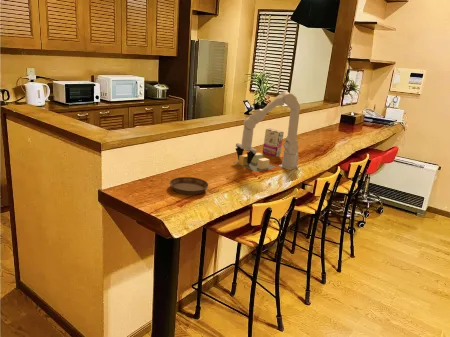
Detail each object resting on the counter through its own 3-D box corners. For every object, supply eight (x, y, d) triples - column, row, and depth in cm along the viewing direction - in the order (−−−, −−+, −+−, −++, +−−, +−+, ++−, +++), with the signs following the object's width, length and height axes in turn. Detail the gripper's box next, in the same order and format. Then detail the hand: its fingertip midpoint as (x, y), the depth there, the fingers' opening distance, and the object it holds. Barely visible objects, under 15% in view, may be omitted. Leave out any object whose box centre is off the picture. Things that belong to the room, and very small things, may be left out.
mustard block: (245, 162, 218) (246, 154, 216) (249, 164, 215) (250, 155, 214) (238, 163, 214) (239, 155, 212) (242, 165, 211) (243, 157, 210)
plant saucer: (161, 188, 168) (161, 182, 167) (186, 179, 182) (186, 173, 181) (191, 200, 159) (192, 193, 158) (215, 190, 173) (215, 184, 172)
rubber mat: (253, 159, 227) (253, 158, 227) (276, 167, 216) (277, 167, 215) (233, 163, 215) (233, 162, 215) (256, 172, 203) (257, 172, 203)
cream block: (263, 166, 215) (264, 157, 213) (268, 167, 212) (269, 159, 211) (256, 167, 211) (258, 159, 209) (261, 169, 208) (262, 161, 207)
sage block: (257, 160, 224) (258, 152, 222) (261, 162, 222) (263, 154, 220) (250, 161, 220) (252, 153, 218) (255, 163, 218) (256, 155, 216)
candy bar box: (280, 156, 240) (284, 131, 235) (275, 157, 236) (279, 132, 231) (266, 152, 247) (270, 127, 242) (262, 153, 243) (265, 128, 238)
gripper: (233, 136, 212) (230, 159, 216) (252, 143, 202) (248, 166, 207) (241, 135, 217) (238, 157, 221) (260, 141, 207) (257, 164, 212)
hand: (244, 161), depth 214 cm, fingers open, 7 cm apart
